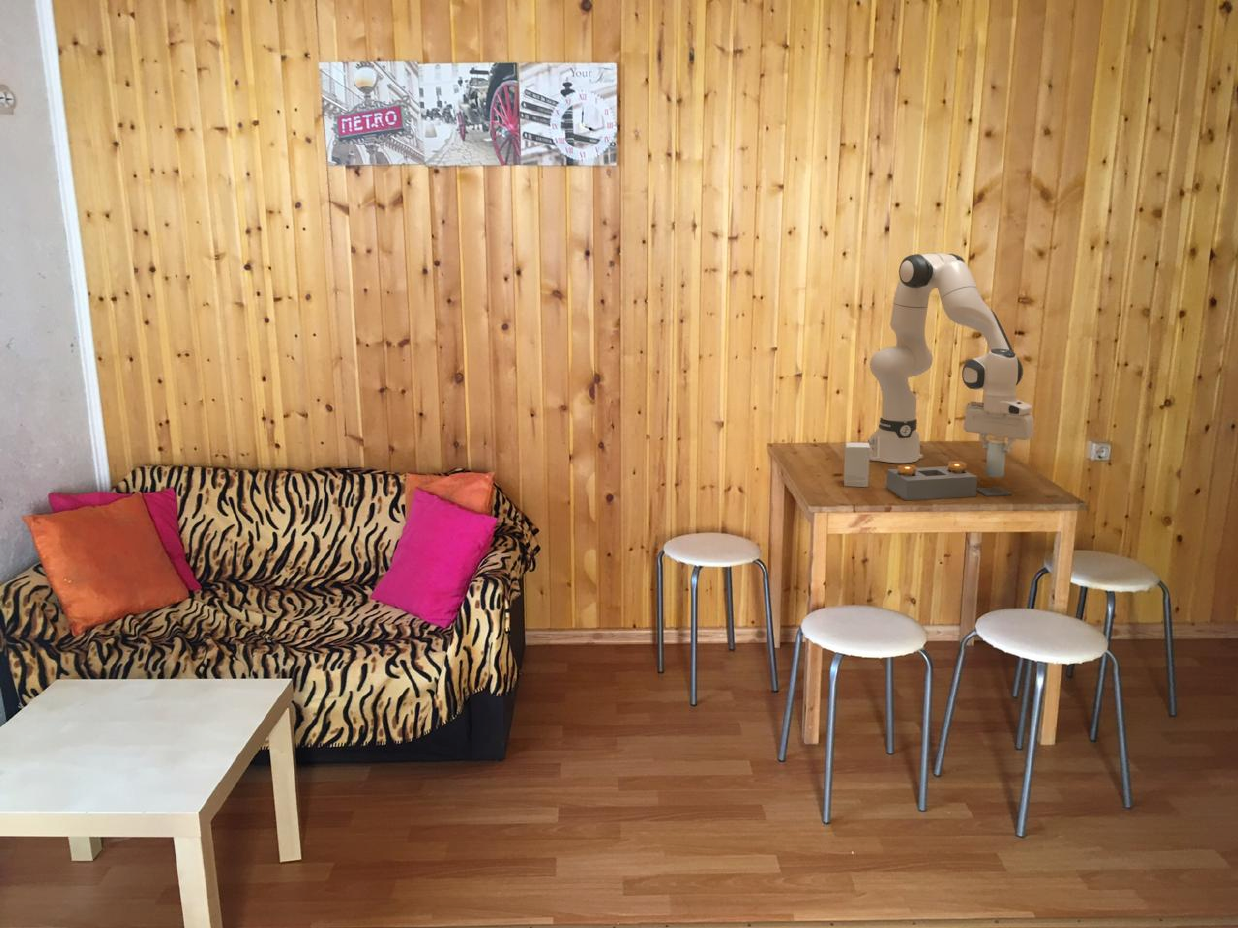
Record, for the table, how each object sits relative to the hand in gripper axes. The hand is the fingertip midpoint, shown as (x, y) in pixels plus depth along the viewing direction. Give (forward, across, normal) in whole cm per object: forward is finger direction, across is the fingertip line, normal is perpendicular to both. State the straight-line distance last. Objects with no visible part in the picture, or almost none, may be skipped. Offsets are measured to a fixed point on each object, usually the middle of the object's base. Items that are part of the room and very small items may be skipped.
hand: (996, 450), depth 301 cm
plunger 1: (+12, -18, -19) cm, 29 cm away
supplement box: (+13, -36, -19) cm, 42 cm away
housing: (+13, -14, -12) cm, 23 cm away
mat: (+13, 0, 0) cm, 13 cm away
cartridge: (+8, 0, 0) cm, 8 cm away
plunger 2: (+12, -9, -6) cm, 16 cm away
